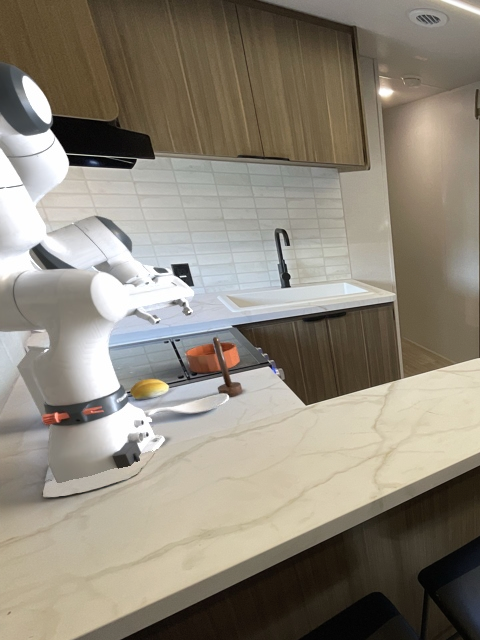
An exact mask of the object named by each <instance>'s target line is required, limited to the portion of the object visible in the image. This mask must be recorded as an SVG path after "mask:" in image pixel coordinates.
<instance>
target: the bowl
mask: <svg viewBox="0 0 480 640" xmlns="http://www.w3.org/2000/svg"><path fill="white" fill-rule="evenodd" d="M220 344H221V347H222V351H223V354H224V358H225V361H226V365H227V368H228V369H231V368H233V367H235V366H236V365H238V363H240V362H241V358H240V355H239V352H238V348H237V344H235V343H233V342H220ZM184 357H185V360H186V362H187V365H188V369H189V370H190V371H191V372H194V373H197V374H208V373H209V374H210V373H217V372H221V368H220V365H219V362H218V358H217V355H216V352H215V348H214V345H213V343H207V344H202V345H197V346H195V347H192V348H189V349H187V350H186V351H185V352H184Z"/></svg>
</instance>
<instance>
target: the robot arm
mask: <svg viewBox="0 0 480 640" xmlns="http://www.w3.org/2000/svg"><path fill="white" fill-rule="evenodd" d="M53 124H54V117H53V113H52V109H51V105H50V103H49V101H48V99H47V97H46V95H45V94H44V91H42V89H41V88H40V86H39V85H38V83H37V82H36V81H35V80H34V79H33V77H31V76H30V75H29V74H27V73H26V72H25V71H23V70H22V69H20V68H18V67H17V66H16V65H14V64H11V63H6V62H4V61H0V332H3V333H11V332H14V333H15V332H30V331H46V333H47V335H48V339H49V346H48V347H49V349H47V350H45V351H44V352H42V353H40V354H39V355H38V356H37V357H36V358H35V359H34V360H33V361H32V363H31V366H30V372H31V373H32V376H33V378H34V380H35V382H36V384H37V386H38V388H39V390H40V392H41V394H42V396H43V398H44V400H45V403H44V407H45V414H44V415H43V416H41V420H42V422H43V424H44V425H45V426H48V425H49V426H48V429H49V430H48V447H47V464H48V466H47V470H46V475H45V478H44V482H45V481H46V480H48V479H52V478H55V480H56V482H57V483H62V482H66V481H69V480H73V479H79V478H83V477H88V476H92V475H95V474H98V473H101V472H104V471H107V470H110V469H114V468H118V469H119V468H123V467H128V466H131V465H132V464H133V463H134V462H138V461H140V457H139V456H140V454H142V453H145V452H148V451H152V450H153V451H155V450H156V449H158V450H159V449H160V448H161V446H162V445H163V444H164V442H165V441H166V439H165V437H164V435H163V434H154V431H153V429H152V427H151V425H150V422H151V423H152V418H151V417H146V416H145V415H144V413H143V411H144V410H143V409H142V408H140V407H137V406H135V405H133V404H131V403H130V402H129V401H130V398H129V396H128V392H127V390H126V389H125V387H124V386H123V384H121V383H120V382H119V379H118V377H117V374H116V371H115V369H114V366H113V363H112V358H111V355H110V350H109V349H110V348H109V345H110V338H111V334H112V332H113V330H114V329H115V327H116V326H117V325H118V323H119V322H121V321H122V320H123V319H124V318H126V317H131V316H136V317H137V318H139V319H142V320H145V321H148V323H149V324H151V325H158V324H159V323H160V322H161V319H160V318H159V317H158V316H157V315H156V314H150V313H148V312H152V311H158V310H162V309H165V308H170V307H175V306H180V308H181V307H182V308H183V309H182V312H181V313H182V314H184V316H185V317H186V316H187V317H188V316H191V315H193V313H194V310H193V309H192V308H191V307H190V304H189V303H191V302H192V301H193V299H194V297H195V291H194V290H193V289H192V288H191V287H190V286H189V285H188V284H187V283H186V282H184V281H183V279H181V278H179V277H178V276H176V275H173V271H172V270H171V269H170V268H168V267H161V266H154V265H153V266H152V265H148V264H143V263H142V262H140V260H137V259H136V258H134V256H133V255H132V252H133V242H132V240H131V238H130V237H129V235H128V234H126V233H125V232H124V231H123V230H122V229H121V228H120V227H119V226H118V225H117V224H116V223H114V221H113V220H112V219H109V218H107V217H103V216H99V215H91V216H88V217H85V218H81V219H80V220H77V221H75V222H72V223H71V224H68V225H65V226H63V227H60V228H58V229H55V230H52V231H50V232H47V226H46V224H45V222H44V219H43V218H42V216H41V214H40V212H39V210H38V209H37V207H36V206H37V204H38V203H39V202H40V201H41V200H42V199H43V198H44V197H45V196H46V195H47V194H48V193H50V192H51V191H52V190H54V189H55V188H57V187H58V186H59V185H60V184H61V183H62V182H64V179H65V178H66V176H67V175H68V172H69V167H70V161H69V158H68V156H67V153H66V151H65V149H64V147H63V146H62V144H61V143H60V141H59V139H58V138H57V137H56V135H55V134H54V132H53V131H52V130H51V127H52V126H53ZM31 261H32V262H33V264H35V265H36V266H37V267H38V268H39V269H35V268H34V266H33V264H32V262H31ZM91 268H93V270H92V269H91ZM89 269H91V270H89ZM153 451H152V452H153ZM50 481H52V480H50ZM42 491H43V489H42ZM42 491H41V492H42Z"/></svg>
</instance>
